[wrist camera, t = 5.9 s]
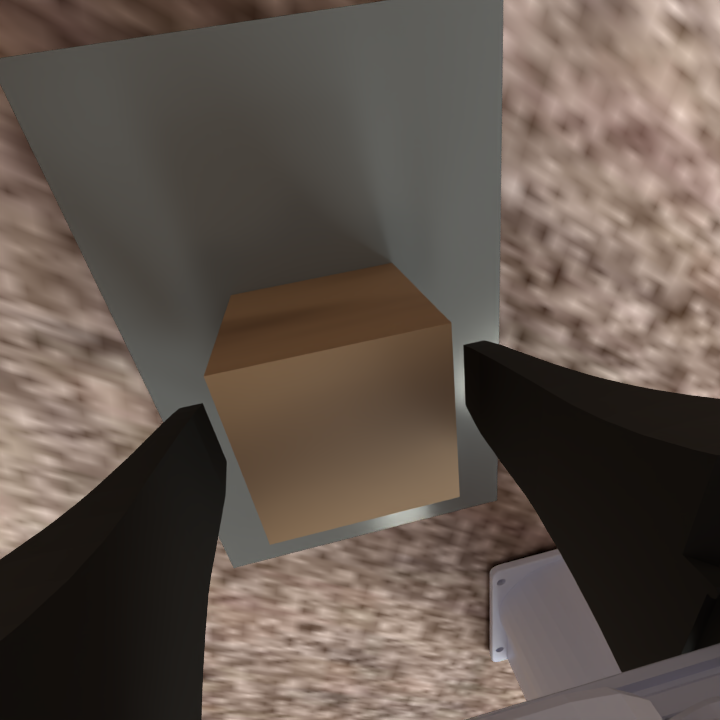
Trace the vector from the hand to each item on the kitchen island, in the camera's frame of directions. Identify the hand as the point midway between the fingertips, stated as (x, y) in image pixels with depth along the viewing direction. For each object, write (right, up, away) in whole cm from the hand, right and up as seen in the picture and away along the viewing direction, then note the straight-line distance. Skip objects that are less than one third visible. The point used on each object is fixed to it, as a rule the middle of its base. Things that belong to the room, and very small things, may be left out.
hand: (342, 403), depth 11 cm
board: (-1, +2, +3) cm, 4 cm away
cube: (-1, +1, +2) cm, 3 cm away
